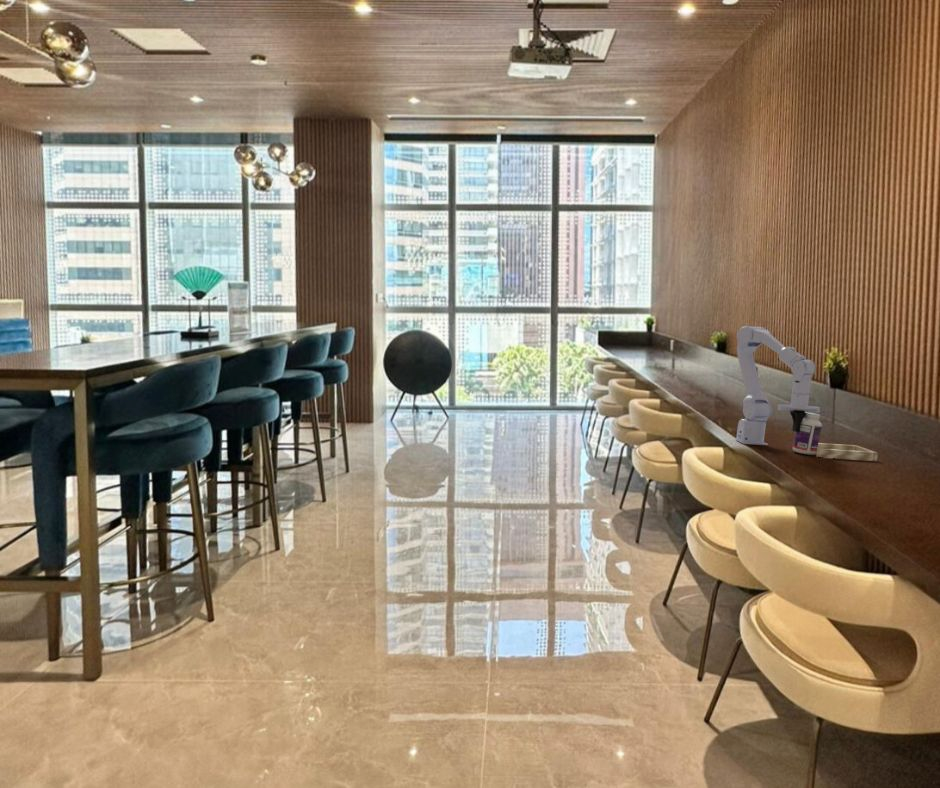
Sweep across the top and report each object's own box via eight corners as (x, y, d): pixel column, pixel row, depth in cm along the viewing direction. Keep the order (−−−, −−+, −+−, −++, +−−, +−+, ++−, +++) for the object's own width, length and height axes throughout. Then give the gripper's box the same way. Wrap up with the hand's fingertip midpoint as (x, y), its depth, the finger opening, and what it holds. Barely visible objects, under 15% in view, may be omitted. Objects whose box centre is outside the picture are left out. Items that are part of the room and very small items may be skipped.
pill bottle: (811, 452, 285) (818, 413, 283) (819, 456, 277) (827, 416, 275) (788, 449, 285) (796, 410, 284) (796, 453, 277) (804, 413, 276)
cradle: (818, 457, 275) (819, 449, 275) (800, 449, 288) (801, 441, 288) (876, 461, 277) (877, 452, 277) (855, 453, 290) (857, 445, 289)
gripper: (786, 393, 274) (781, 432, 275) (826, 396, 275) (821, 434, 276) (776, 391, 281) (772, 428, 282) (815, 393, 282) (811, 431, 283)
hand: (796, 431), depth 280 cm, fingers closed, pressing on pill bottle
